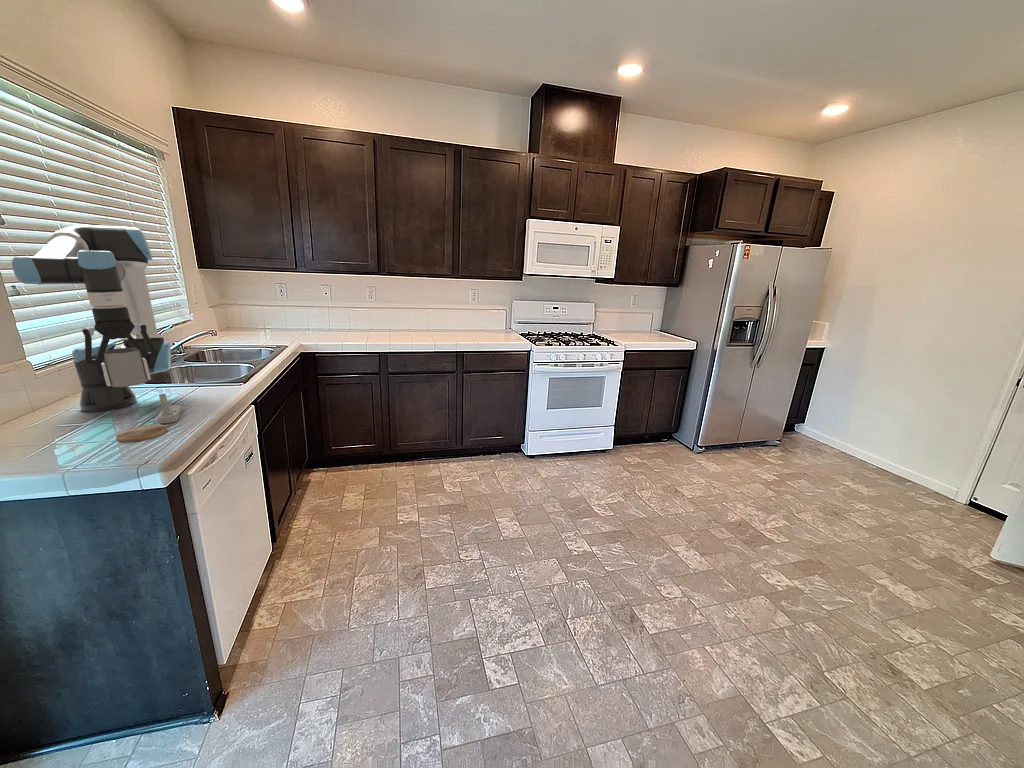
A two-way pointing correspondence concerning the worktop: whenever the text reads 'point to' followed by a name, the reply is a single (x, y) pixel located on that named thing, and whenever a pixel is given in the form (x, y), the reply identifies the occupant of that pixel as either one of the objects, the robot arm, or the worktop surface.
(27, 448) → the worktop surface
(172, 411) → the electronic device
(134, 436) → the plate
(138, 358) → the cup
